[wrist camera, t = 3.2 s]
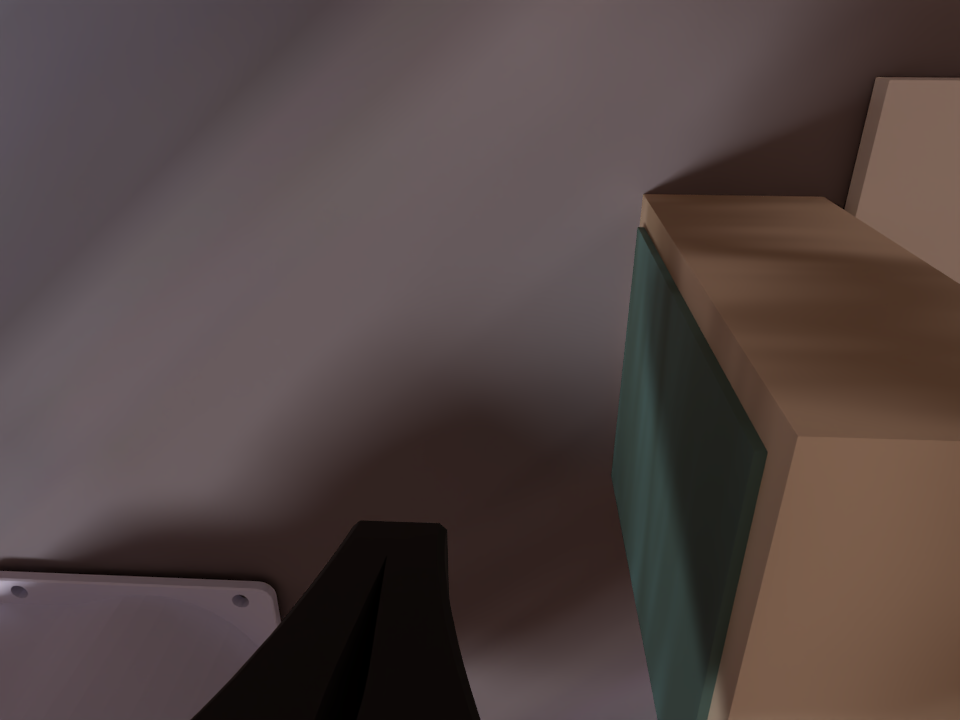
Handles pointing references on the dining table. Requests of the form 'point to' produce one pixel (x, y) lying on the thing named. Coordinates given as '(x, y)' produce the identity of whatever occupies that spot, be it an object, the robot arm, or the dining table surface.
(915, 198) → the beige mat
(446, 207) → the dining table surface
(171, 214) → the dining table surface
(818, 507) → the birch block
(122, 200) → the dining table surface
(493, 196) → the dining table surface
